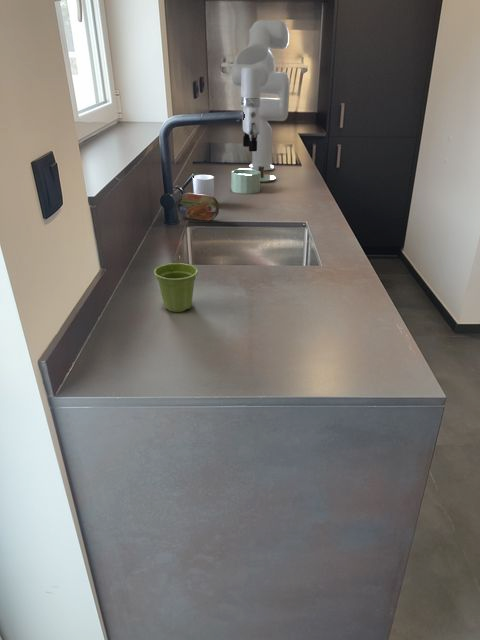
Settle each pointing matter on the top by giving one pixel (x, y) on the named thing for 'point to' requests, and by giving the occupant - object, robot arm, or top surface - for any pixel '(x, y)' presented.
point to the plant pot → (176, 285)
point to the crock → (245, 181)
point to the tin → (198, 206)
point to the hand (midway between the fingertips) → (249, 148)
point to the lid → (265, 177)
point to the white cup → (203, 184)
